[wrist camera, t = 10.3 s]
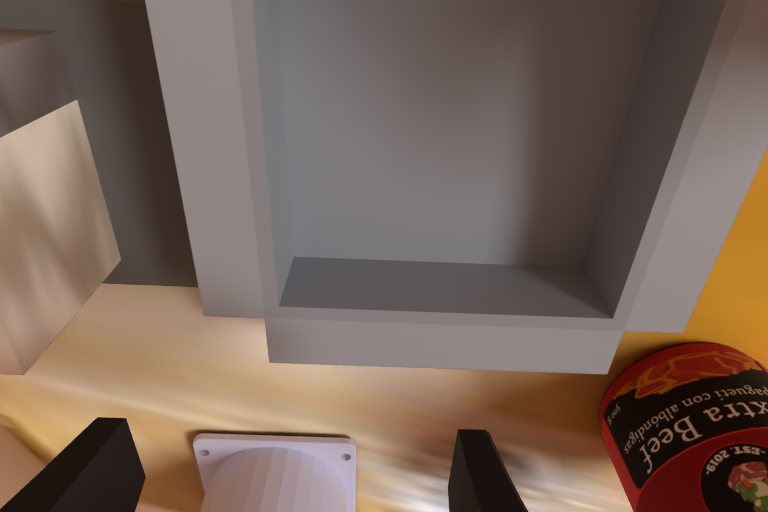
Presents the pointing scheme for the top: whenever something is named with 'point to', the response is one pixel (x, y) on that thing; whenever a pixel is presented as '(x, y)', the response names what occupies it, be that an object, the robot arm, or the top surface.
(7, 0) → the rubber mat
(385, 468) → the top surface
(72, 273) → the maple block
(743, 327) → the top surface
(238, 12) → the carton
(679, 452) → the canned food
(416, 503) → the top surface
